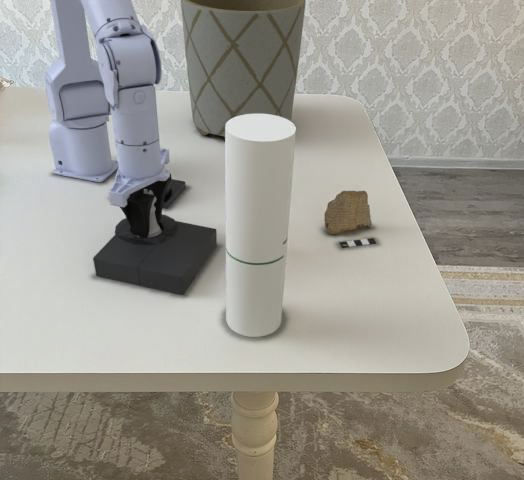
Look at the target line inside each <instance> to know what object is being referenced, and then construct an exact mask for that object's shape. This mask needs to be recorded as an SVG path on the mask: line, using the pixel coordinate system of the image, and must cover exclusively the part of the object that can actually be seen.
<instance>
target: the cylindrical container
mask: <svg viewBox="0 0 524 480" xmlns="http://www.w3.org/2000/svg"><path fill="white" fill-rule="evenodd" d="M296 133H297V127H296V125H295V124H294V123H293V122H292V120H291V121H289V120H288V119H285V118H283V117H280V116H276V115H270V114H245V115H240V116H237V117H234V118H232V119H230V120H229V121H227V123H226V125H225V137H224V140H225V142H224V150H225V152H224V153H225V154H224V155H225V159H224V161H225V162H224V163H225V166H224V167H225V168H224V169H225V170H224V171H225V173H224V175H225V178H224V179H225V180H224V181H225V182H224V183H225V320H226V324H227V326H228V327H229V328H230V330H231V331H232V332H234V333H236V334H238V335H241V336H244V337H249V338H251V337H252V338H260V337H265V336H269V335H271V334H273V333H274V332H276V331H277V330H278V329H279V328H280V326H281V324H282V316H283V303H284V291H285V279H286V277H285V276H286V265H287V250H288V238H289V226H290V225H289V224H290V214H291V213H290V212H291V198H292V185H293V172H294V158H295V147H296V145H295V144H296V136H297V135H296Z"/></svg>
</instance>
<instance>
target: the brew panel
mask: <svg viewBox="0 0 524 480" xmlns="http://www.w3.org/2000/svg"><path fill="white" fill-rule="evenodd" d="M186 188H187V183H186V181H185V180H181V179H180V180H179V179H173V178H172V180H171V182H170V184H169V186H168V188H167V191H166V194H165V198H164V203H163V208H162V209H165V210H168V209H169V207H170V206H171V205H172V204H173V203H174V202H175V201H176V200H177V199H178V197H179V196H180V195H181V194H182V193H183V191H185V189H186Z"/></svg>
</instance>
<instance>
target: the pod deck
mask: <svg viewBox="0 0 524 480" xmlns="http://www.w3.org/2000/svg"><path fill="white" fill-rule="evenodd" d="M158 225H159V227H160V228H161V230H162V233H161V234H159V235H157V236H153V237H138V236H135V235H134V234H133V232H132V229H131V227H130V225H129V222H128V220H127V218H126V217H125V218H123V219H121V220H120V221H119V222H118V223H116V225H115V228H114V235H113V236H112V237H111V238H110V239H109V240H108V241H107V243H106V244H104V246H103V247H102V248H101V249H100V250H99V251H98V252H97V253H96V254H94V256H93V257H92V260H93V261H92V262H93V265H94V271H95V276H96V277H100V278H105V279H109V280H113V281H118V282H122V283H125V284H131V285H136V286H140V287H145V288H149V289H152V290H153V289H154V290H157V291H158V290H159V291H162V292H167V293H171V294H176V295H181V296H183V295H185V293H186V292H187V290H188V288H190V286H191V284H192V283H193V281H194V280H195V279H196V277H197V276H198V274H199V273H200V271H202V268H203V267H204V265H205V264H206V262H207V261H208V259H209V258H210V257H211V255H212V254H213V253H214V251H215V250H216V248H217V246H218V245H217V244H218V242H217V241H218V240H217V238H218V237H217V236H218V235H217V228H213V227H209V226H204V225H198V224H193V223H188V222H184V221H178V220H176V219H174V218H173V217H171V216H169V215H167V214H163V213H162V215H161V220H160V223H159V224H158Z"/></svg>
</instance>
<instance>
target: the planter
mask: <svg viewBox="0 0 524 480" xmlns="http://www.w3.org/2000/svg"><path fill="white" fill-rule="evenodd" d="M180 8H181V21H182V31H183V41H184V51H185V61H186V72H187V79H188V80H187V81H188V90H189V91H188V92H189V99H190V109H191V117H192V121H193V124H194V126H195V128H196V130H197V131H198V132H199V133H200V134H201V135H202V136H205V137H206V136H208V135H209V134H212V135H216V136H220V137H224V138H225V125H226V123H227V121H229V120H230V119H232V118H234V117H237V116H240V115H245V114H270V115H276V116H280V117H283V118H285V119H288V120H289V121H291V122H292V115H293V107H294V100H295V94H296V93H295V92H296V85H297V78H298V77H297V76H298V69H299V62H300V54H301V47H302V38H303V31H304V30H303V29H304V22H305V21H304V20H305V12H306V0H180Z"/></svg>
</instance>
